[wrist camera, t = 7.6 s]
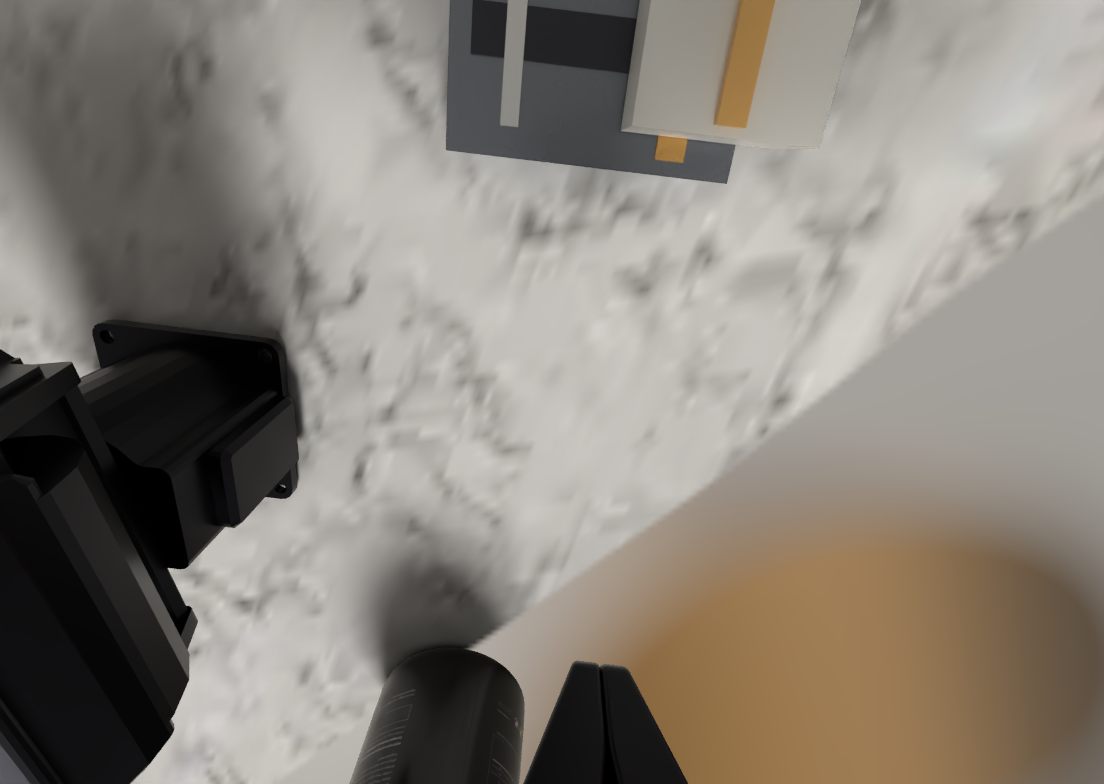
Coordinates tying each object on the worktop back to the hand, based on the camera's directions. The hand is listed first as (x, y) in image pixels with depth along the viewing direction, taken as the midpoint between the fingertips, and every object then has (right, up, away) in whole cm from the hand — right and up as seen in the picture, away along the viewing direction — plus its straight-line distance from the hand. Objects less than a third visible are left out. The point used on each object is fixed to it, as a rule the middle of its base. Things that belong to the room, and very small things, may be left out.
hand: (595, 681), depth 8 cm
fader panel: (+1, +14, +7) cm, 16 cm away
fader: (+3, +13, +6) cm, 15 cm away
